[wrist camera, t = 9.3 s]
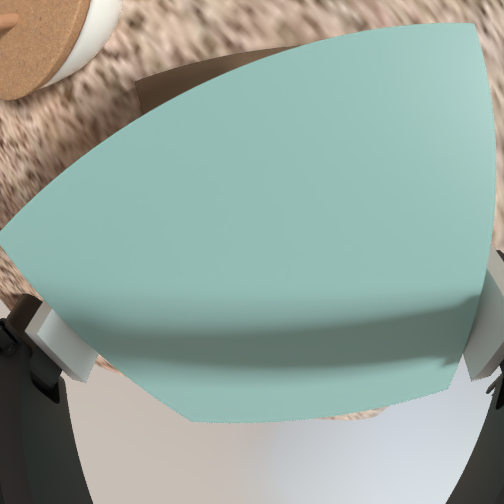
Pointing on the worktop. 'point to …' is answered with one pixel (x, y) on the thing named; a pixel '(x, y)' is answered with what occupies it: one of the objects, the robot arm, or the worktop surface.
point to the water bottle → (23, 313)
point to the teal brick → (283, 230)
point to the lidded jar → (50, 40)
